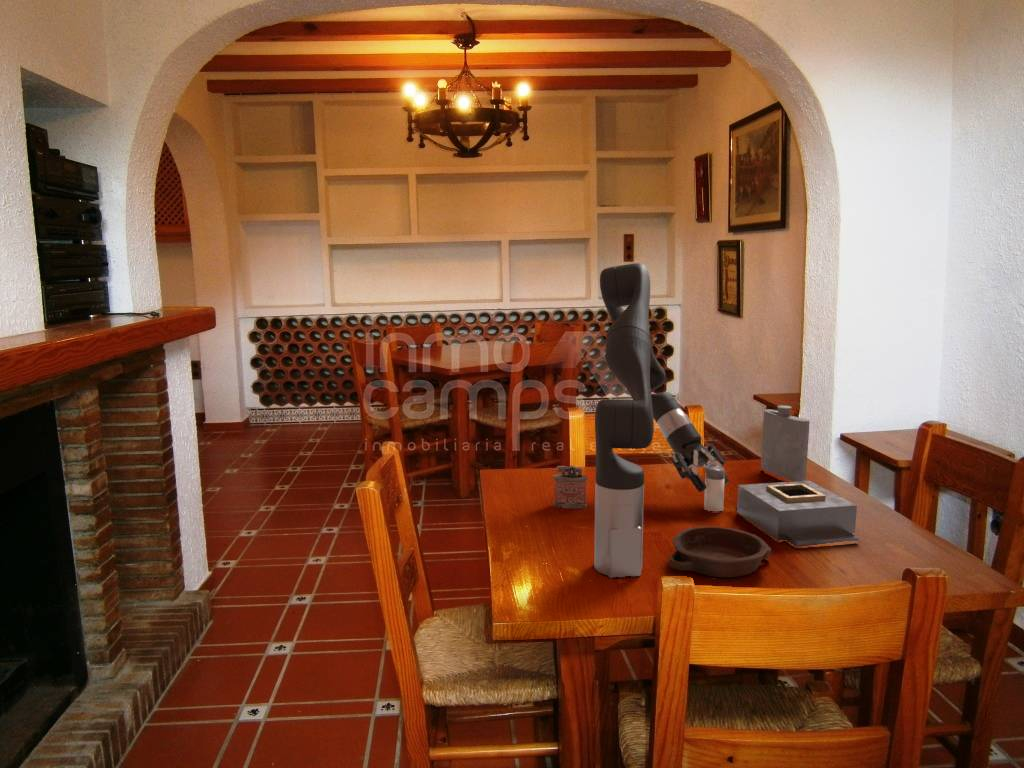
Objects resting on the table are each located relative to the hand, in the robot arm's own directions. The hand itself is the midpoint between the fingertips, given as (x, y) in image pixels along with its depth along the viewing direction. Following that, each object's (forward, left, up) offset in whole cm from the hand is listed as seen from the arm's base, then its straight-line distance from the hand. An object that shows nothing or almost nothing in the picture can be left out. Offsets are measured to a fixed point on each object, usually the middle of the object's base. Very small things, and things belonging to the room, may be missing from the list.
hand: (714, 486), depth 175 cm
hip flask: (+20, -29, -6) cm, 36 cm away
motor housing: (-13, -13, -6) cm, 19 cm away
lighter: (+9, +33, -6) cm, 35 cm away
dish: (-30, +13, -6) cm, 33 cm away
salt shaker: (0, 0, -6) cm, 6 cm away
